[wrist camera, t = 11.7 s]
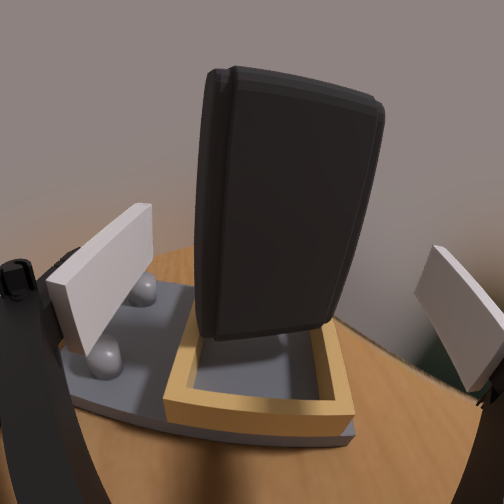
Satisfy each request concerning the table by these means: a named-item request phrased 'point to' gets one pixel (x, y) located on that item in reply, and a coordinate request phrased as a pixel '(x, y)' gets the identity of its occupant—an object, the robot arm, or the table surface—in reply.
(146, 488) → the table surface
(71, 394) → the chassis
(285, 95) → the card reader
